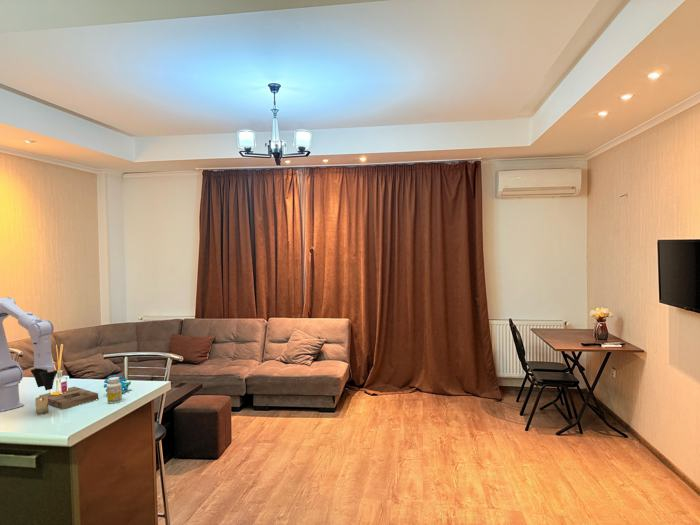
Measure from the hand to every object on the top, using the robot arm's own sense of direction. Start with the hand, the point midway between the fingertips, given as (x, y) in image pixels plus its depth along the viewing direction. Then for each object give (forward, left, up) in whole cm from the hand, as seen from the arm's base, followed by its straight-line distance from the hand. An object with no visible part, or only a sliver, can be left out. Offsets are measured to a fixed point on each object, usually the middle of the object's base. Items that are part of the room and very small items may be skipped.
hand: (44, 388), depth 184 cm
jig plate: (-8, +12, -10) cm, 17 cm away
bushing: (-1, -1, -10) cm, 10 cm away
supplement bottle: (+11, +21, -10) cm, 26 cm away
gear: (+1, +28, -10) cm, 30 cm away
